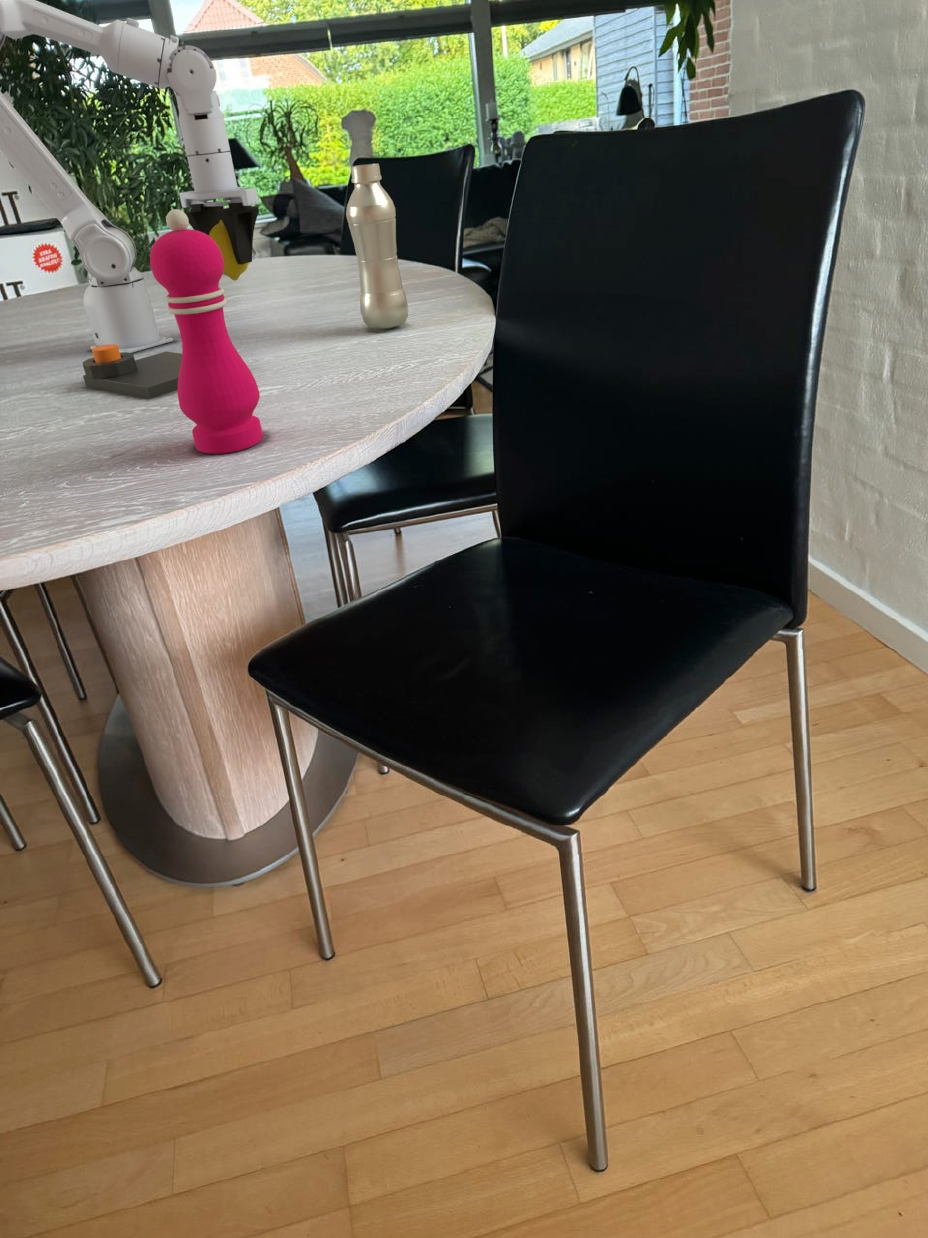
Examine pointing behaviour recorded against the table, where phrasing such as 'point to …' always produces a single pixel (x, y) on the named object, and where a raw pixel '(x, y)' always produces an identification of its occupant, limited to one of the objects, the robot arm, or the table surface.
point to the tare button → (106, 353)
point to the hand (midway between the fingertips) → (231, 262)
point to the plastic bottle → (376, 250)
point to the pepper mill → (205, 341)
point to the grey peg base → (135, 374)
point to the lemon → (227, 252)
